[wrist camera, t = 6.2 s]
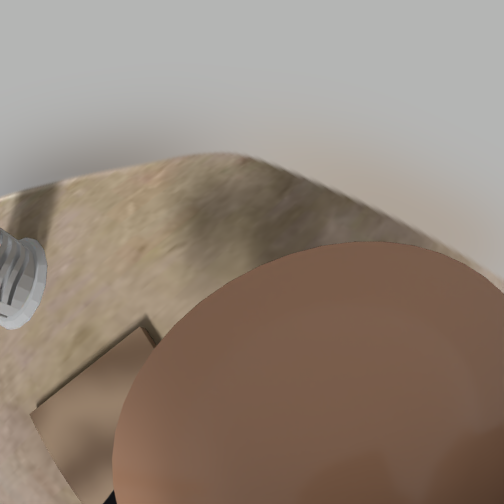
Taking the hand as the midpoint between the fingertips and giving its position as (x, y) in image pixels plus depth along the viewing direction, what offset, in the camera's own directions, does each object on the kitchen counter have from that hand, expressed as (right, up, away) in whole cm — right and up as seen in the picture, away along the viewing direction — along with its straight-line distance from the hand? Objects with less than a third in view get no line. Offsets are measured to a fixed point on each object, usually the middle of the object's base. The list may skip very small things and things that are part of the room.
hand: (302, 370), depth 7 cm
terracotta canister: (+1, -4, +6) cm, 7 cm away
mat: (-10, -12, +10) cm, 18 cm away
